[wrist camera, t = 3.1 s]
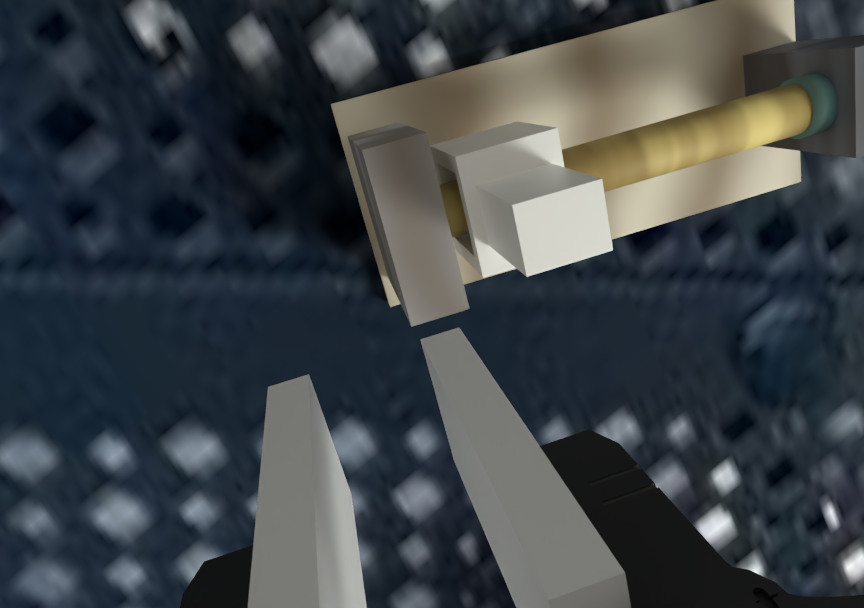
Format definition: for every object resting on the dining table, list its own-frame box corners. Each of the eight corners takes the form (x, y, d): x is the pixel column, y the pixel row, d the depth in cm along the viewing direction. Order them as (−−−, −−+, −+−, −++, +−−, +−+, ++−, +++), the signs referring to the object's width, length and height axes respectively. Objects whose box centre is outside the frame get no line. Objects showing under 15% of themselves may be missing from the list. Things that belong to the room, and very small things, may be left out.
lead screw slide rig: (388, 302, 33) (413, 362, 26) (330, 104, 30) (341, 109, 22) (790, 179, 36) (917, 203, 28) (781, -18, 32) (923, -49, 25)
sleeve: (455, 249, 30) (519, 315, 21) (429, 145, 28) (488, 171, 20) (536, 225, 30) (632, 279, 22) (516, 121, 28) (611, 136, 20)
